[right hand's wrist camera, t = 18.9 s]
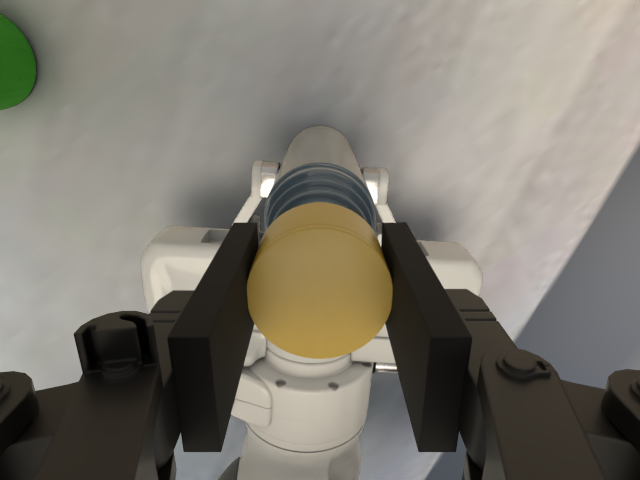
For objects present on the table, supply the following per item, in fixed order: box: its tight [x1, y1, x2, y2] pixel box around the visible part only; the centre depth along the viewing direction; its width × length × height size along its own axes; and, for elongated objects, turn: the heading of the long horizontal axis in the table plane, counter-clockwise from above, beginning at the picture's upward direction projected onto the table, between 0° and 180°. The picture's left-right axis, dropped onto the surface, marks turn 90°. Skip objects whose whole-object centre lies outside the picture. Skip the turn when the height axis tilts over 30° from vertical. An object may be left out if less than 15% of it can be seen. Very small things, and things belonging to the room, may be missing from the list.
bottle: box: [264, 126, 376, 232], centre depth 22 cm, size 5×5×20 cm
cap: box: [247, 202, 393, 359], centre depth 13 cm, size 4×4×2 cm
